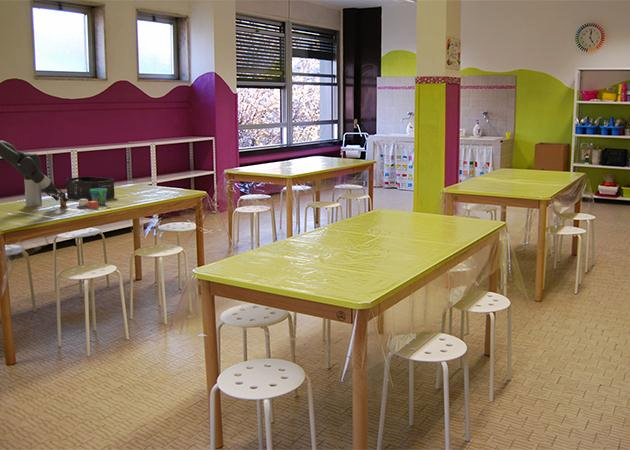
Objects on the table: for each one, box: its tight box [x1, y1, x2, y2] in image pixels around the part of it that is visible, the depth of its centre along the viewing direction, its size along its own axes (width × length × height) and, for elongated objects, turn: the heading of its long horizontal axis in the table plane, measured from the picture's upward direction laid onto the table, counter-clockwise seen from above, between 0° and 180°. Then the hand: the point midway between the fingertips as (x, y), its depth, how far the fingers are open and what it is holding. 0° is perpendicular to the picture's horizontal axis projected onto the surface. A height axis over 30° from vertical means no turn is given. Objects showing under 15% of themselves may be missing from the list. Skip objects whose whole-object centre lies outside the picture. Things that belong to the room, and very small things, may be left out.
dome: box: [77, 199, 89, 206], centre depth 416 cm, size 6×6×4 cm
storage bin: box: [65, 175, 116, 202], centre depth 457 cm, size 29×19×13 cm
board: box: [58, 201, 99, 214], centre depth 413 cm, size 19×16×5 cm
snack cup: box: [90, 188, 107, 206], centre depth 430 cm, size 16×10×10 cm
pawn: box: [59, 191, 69, 210], centre depth 413 cm, size 5×5×10 cm
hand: (62, 200), depth 412 cm, fingers open, 8 cm apart
